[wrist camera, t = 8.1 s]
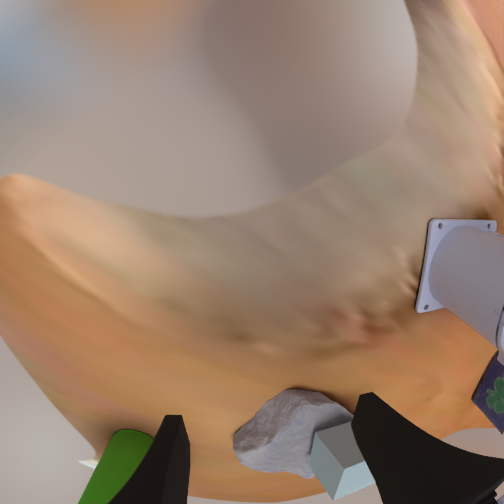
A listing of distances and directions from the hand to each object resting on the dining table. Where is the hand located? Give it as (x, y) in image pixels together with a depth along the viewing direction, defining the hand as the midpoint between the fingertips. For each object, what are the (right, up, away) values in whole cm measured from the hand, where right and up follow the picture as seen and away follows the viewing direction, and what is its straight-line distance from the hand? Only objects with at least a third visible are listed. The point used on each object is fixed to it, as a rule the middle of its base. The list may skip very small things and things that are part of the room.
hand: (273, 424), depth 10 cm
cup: (-13, -13, +14) cm, 23 cm away
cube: (+6, -10, +11) cm, 16 cm away
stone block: (+4, -10, +15) cm, 19 cm away
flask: (+32, -10, +18) cm, 38 cm away
